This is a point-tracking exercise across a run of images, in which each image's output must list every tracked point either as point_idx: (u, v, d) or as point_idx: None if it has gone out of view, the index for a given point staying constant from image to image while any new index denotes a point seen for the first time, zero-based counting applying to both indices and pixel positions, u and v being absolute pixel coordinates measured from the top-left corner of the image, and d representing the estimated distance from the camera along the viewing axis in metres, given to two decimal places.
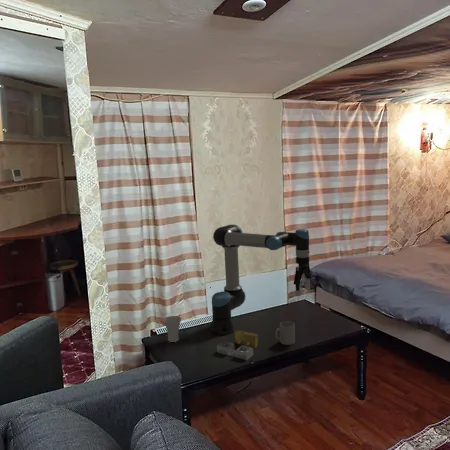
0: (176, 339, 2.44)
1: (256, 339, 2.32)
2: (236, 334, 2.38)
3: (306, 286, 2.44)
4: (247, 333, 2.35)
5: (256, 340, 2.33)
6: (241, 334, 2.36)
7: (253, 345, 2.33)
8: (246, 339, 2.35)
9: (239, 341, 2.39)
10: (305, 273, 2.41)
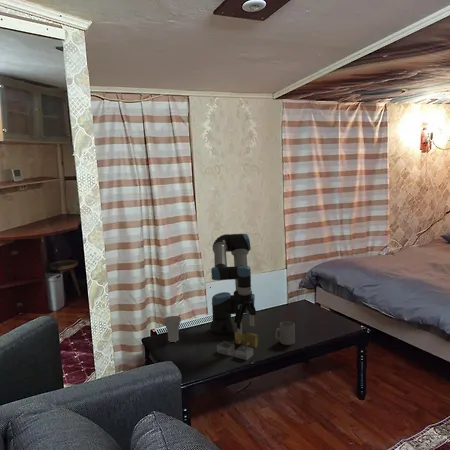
0: (176, 339, 2.44)
1: (256, 339, 2.32)
2: (236, 334, 2.38)
3: (250, 323, 2.41)
4: (247, 333, 2.35)
5: (256, 340, 2.33)
6: (241, 334, 2.36)
7: (253, 345, 2.33)
8: (246, 339, 2.35)
9: (239, 341, 2.39)
10: (249, 310, 2.38)
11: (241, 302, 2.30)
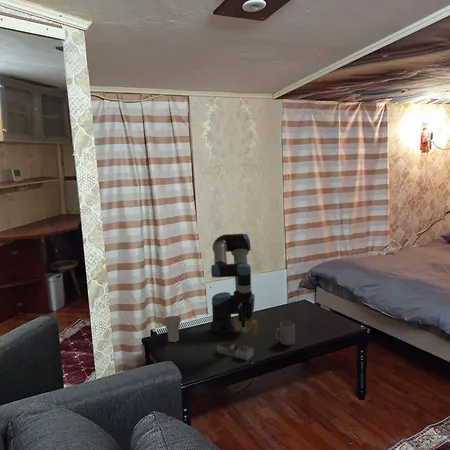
0: (176, 339, 2.44)
1: (256, 326, 2.32)
2: (236, 321, 2.37)
3: None
4: (247, 320, 2.35)
5: (256, 327, 2.32)
6: None
7: (253, 332, 2.32)
8: (246, 326, 2.34)
9: (239, 328, 2.38)
10: (246, 310, 2.36)
11: (241, 300, 2.30)
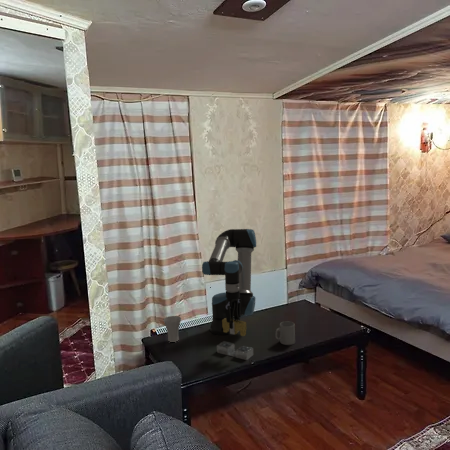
0: (176, 339, 2.44)
1: (244, 327, 2.20)
2: (223, 322, 2.25)
3: None
4: (235, 321, 2.22)
5: (244, 328, 2.20)
6: None
7: (241, 333, 2.20)
8: None
9: (227, 330, 2.26)
10: (234, 311, 2.24)
11: (229, 300, 2.18)
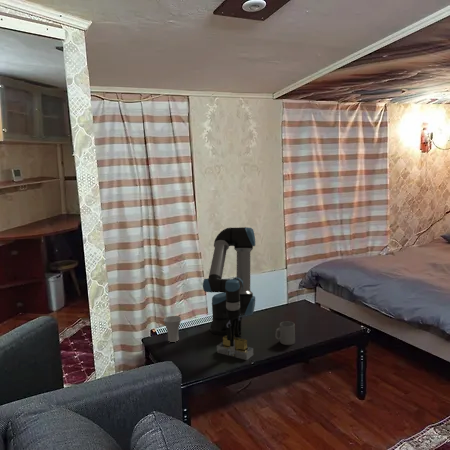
0: (176, 339, 2.44)
1: (245, 345, 2.21)
2: (224, 339, 2.27)
3: None
4: (236, 338, 2.24)
5: (245, 346, 2.21)
6: None
7: None
8: (235, 345, 2.23)
9: None
10: (235, 329, 2.25)
11: (229, 318, 2.20)
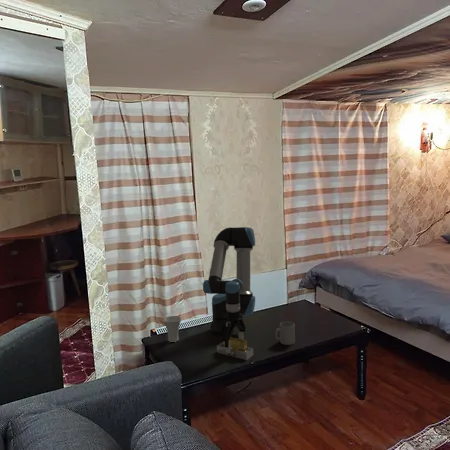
0: (176, 339, 2.44)
1: (245, 346, 2.21)
2: None
3: None
4: (236, 339, 2.24)
5: (245, 347, 2.21)
6: (230, 340, 2.25)
7: None
8: (235, 346, 2.23)
9: None
10: (238, 327, 2.28)
11: (229, 319, 2.20)
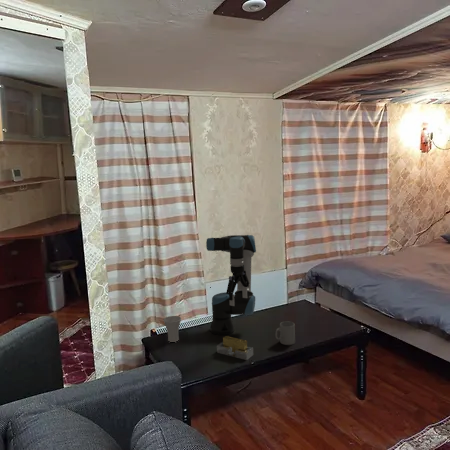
0: (176, 339, 2.44)
1: (245, 346, 2.21)
2: (224, 340, 2.27)
3: (243, 294, 2.38)
4: (236, 339, 2.24)
5: (245, 347, 2.21)
6: (230, 340, 2.25)
7: None
8: (235, 346, 2.23)
9: None
10: (241, 281, 2.35)
11: (233, 273, 2.27)
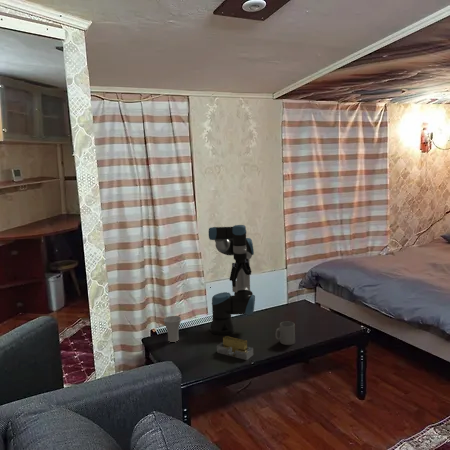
0: (176, 339, 2.44)
1: (245, 346, 2.21)
2: (224, 340, 2.27)
3: (246, 282, 2.42)
4: (236, 339, 2.24)
5: (245, 347, 2.21)
6: (230, 340, 2.25)
7: None
8: (235, 346, 2.23)
9: None
10: (244, 269, 2.40)
11: (236, 260, 2.32)
